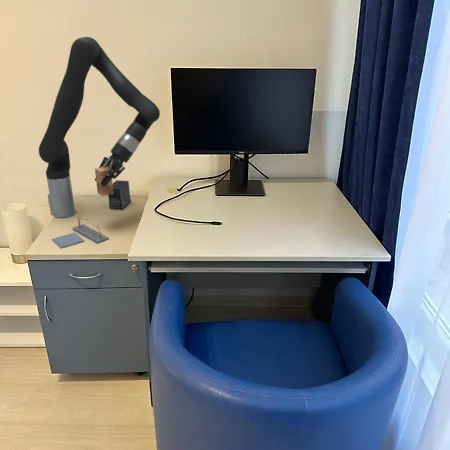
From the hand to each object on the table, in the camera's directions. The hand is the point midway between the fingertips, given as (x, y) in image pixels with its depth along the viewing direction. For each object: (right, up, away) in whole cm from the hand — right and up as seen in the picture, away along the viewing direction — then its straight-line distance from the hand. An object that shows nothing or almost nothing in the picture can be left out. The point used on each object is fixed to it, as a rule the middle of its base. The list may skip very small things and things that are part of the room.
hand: (99, 183), depth 165 cm
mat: (-12, -22, 0) cm, 25 cm away
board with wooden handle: (-5, -20, +5) cm, 21 cm away
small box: (0, -7, +32) cm, 33 cm away
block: (+1, -4, +3) cm, 5 cm away
